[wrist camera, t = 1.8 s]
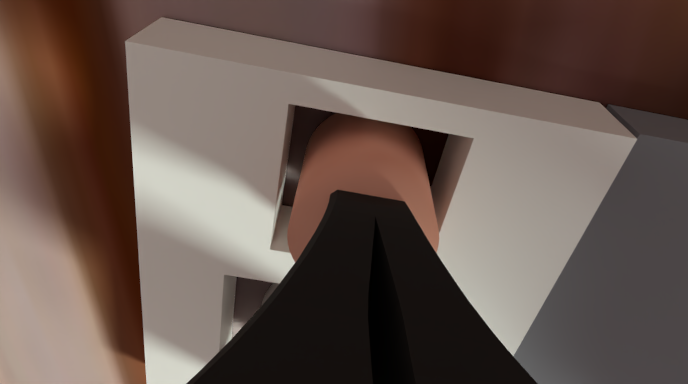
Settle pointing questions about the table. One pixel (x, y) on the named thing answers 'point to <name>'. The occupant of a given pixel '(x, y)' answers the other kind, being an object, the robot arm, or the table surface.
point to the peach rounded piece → (360, 173)
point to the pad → (624, 274)
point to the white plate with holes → (271, 165)
